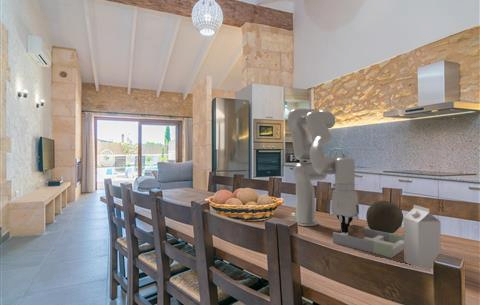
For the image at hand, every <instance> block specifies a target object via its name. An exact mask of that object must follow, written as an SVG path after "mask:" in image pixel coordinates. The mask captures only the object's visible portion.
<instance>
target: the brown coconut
mask: <svg viewBox="0 0 480 305" xmlns="http://www.w3.org/2000/svg"><path fill="white" fill-rule="evenodd" d="M365 216H366V218H365V219H366V223H367V226H368V229H371V230H376V231H381V232H386V233H391V234H395V233H396V232H397V231H398V230H399V229H400V227H401V226H402V224H403V223H404V214H403V211H402V209H401V208H400V207H399V206H398V205H396V203H393V201H388V200H387V201H386V200H377V201H374V202H373V203H372V204H371V205H369V206H368V208H367V210H366V215H365Z"/></svg>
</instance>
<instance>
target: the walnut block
mask: <svg viewBox="0 0 480 305" xmlns="http://www.w3.org/2000/svg"><path fill="white" fill-rule="evenodd" d="M364 228H365V226H362V225H357V224H350V226H348V236H353V237H357V238H361V239H363V238H364Z"/></svg>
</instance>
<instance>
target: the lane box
mask: <svg viewBox="0 0 480 305" xmlns="http://www.w3.org/2000/svg"><path fill="white" fill-rule="evenodd" d="M332 243H334V244H338V245H341V246H345V247H348V248H352V249H356V250H360V251H363V250H364V252H367V251H368V252H367V253H371V252H372V254H375V253H376V255H379V254H380V255H379V256H382V255H383V256H384V257H387V258H392V259H393V257H395V256H396V255H397V254H399V253H400V252H402V251H404V235H402V234H401V235H400V234H395V233H392V234H391V233H386V232H381V231H376V230H371V229H370V228H366V227H364V238H363V239H361V238H357V237H353V236H348V232H347V233H343V232H342V231H341V233H339V232H335V231H333V232H332ZM383 256H382V257H383Z"/></svg>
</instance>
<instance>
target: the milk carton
mask: <svg viewBox="0 0 480 305" xmlns="http://www.w3.org/2000/svg"><path fill="white" fill-rule="evenodd" d="M441 226H442V225H441V221H440V219H438V218H437V217H436V216H434V215H433V214H432V213H431V209H430V208H428V207H427V208H426V207H424V206H421V205H416V204H413V208H411V209H410V211H409V212H407V213H406V214H405V215H403V236H404V249H403V259H404V260H403V262H404V263H406V264H408V265H409V264H411V265H415V266H418V267H421V268H427V269H432V263H433V260H434V259H435V257H436V256H437V255H438V254H441V255H442V251H441V250H442V242H441V241H442V239H441V238H442V237H441V236H442V234H441V231H442V229H441V228H442V227H441ZM411 265H410V266H411Z"/></svg>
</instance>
